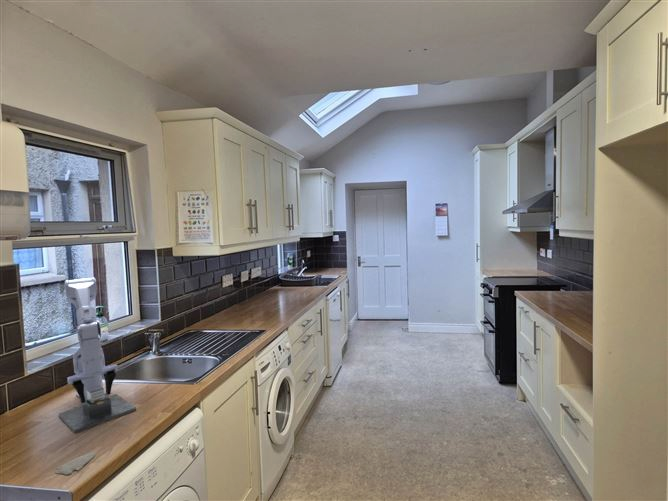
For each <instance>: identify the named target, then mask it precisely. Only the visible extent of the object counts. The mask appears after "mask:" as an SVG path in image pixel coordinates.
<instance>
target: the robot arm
mask: <svg viewBox="0 0 668 501" xmlns="http://www.w3.org/2000/svg"><path fill="white" fill-rule="evenodd" d="M97 285H98V284H97V280H96V277H86V278H78V279H69V280H68V279H66V280H65V281H64V287H65V288H64V290H65V295H66V300H67V303H70V304H73V305H74V308H75V310H76V313H75V316H76V321H77V327H76V332H77V340H78V342H79V347H78V348H77V349H76V350H75V351H74V352H73V353H72V363H73V372H74V374H73V375H71V376H68V377H66V379H67V384H68V385H70V386H71V385H72V387H73V388H74V390H75V391H76V393H75V394H76V396H77V397H78V398H79V400H80V402H81V403H85V400H88V399H87V390H86V389H90V388H93V387H96V386H99V385H100V386H101V387H103V388H104V384H103V383H105V389H104V395H106V394H107V395H109V396H110V395H111V393H112V386H113V383H114V380H115V378H116V377H117V373H116V372H117V371H119V367H118V366H119V365H117V364H115V363H114V364H111V365H110V364H109V365H106V361H105V353H104V350H103V348H102V346H101V345H102V344H101V338H102V329H101V323H100V320H99V319H98V318H97V312H96V309H95V307H93V306H91V302H92V301H94V300H96V299H97V292H98V287H97ZM103 378H104V382H103Z"/></svg>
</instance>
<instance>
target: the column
mask: <svg viewBox="0 0 668 501" xmlns="http://www.w3.org/2000/svg"><path fill="white" fill-rule="evenodd" d="M86 390H87V399H88V404H89V405H92V404H95V403H96V402H99V401H104V400H105V396H106V395H105V394H104V390H105V389H104V386H103V387H101V386H100V385H99V386H96V387H93V388H90V389H86ZM104 395H105V396H104Z"/></svg>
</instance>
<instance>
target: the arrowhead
mask: <svg viewBox="0 0 668 501" xmlns="http://www.w3.org/2000/svg"><path fill="white" fill-rule="evenodd" d="M96 454H97V452H96V451H90V452H89V453H86V454H83V455H80V456H78V457H75V458H74V459H72V460H70V461H68V462H65V463H64V464H62V465H61V466H59V467H57V468H56V470H55V471H54V474H57V475H60V474H63V475H65V476H69V475H71V474H72V473H73V472H75V471H79V470H81V469H82V468H84V466H85V465H86V464H87V463H88V462H90V461H91V460H92V459H93V458H94V457H95V456H96Z"/></svg>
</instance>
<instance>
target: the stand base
mask: <svg viewBox="0 0 668 501" xmlns="http://www.w3.org/2000/svg"><path fill="white" fill-rule="evenodd" d="M104 396H105V400H104V401H99V402H96V403H95V404H92V405H89V404H88V400H85V403H82V402H81V403H82V405H80V406H76V407H73V408H70V409H68V410H67V409H66V410H65V411H62V412H58V417H59V418H60V419H61V420H62V421H63V423H64V424H66V425H67V427H68V428H69V429H70V430H71V431H72V432H73V433H74V434H77V433H79V432H81V431H85V430H87V429H90V428H92V427H93V428H94V427H96V426H98V425H101V424H103V423H106V422H108V421H112V420H114V419H116V418H119V417H121V416H125V415H128V414H131V413H132V412H135V411H137V407H136V406H134V405H133V404H132V403H130V402H128V400H126V399H124V398H123V397H121V396H120V395H118V394H112V395H109V396H107V395H106V394H104Z"/></svg>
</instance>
